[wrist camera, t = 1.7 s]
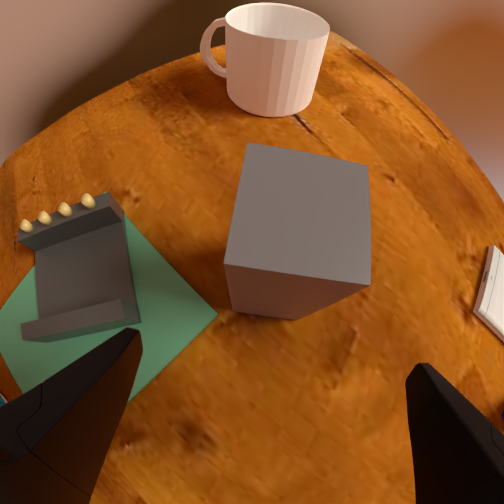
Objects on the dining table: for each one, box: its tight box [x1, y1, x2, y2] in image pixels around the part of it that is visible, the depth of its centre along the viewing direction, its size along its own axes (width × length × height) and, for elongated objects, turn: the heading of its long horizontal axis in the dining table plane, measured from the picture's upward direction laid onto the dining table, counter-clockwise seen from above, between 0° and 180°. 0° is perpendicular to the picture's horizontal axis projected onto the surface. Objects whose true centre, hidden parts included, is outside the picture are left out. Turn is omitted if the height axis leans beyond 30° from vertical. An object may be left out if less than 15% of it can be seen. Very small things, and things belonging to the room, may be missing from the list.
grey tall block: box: [224, 143, 371, 320], centre depth 15 cm, size 5×4×12 cm
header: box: [18, 192, 142, 343], centre depth 17 cm, size 9×9×4 cm
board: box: [0, 192, 218, 403], centre depth 18 cm, size 18×14×1 cm
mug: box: [200, 3, 330, 117], centre depth 23 cm, size 12×9×9 cm
